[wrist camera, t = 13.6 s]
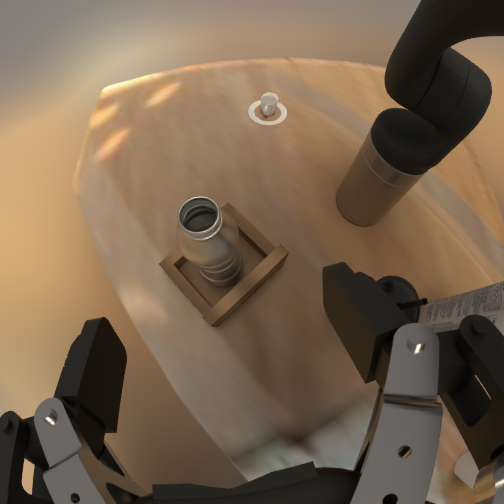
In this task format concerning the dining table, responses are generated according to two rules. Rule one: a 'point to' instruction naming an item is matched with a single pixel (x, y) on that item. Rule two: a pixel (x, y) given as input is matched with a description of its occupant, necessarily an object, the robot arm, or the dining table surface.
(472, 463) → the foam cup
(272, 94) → the teacup and saucer
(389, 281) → the drinking cup
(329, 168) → the dining table surface
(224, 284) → the plastic bottle
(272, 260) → the drawer
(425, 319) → the juice carton
